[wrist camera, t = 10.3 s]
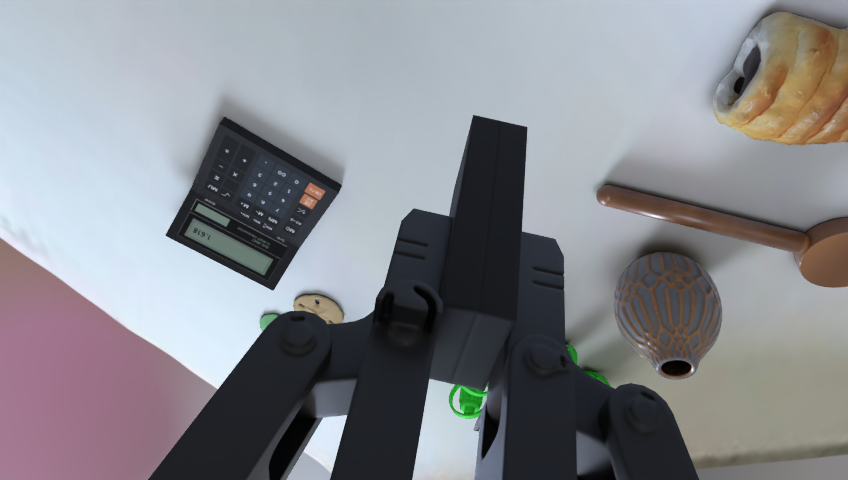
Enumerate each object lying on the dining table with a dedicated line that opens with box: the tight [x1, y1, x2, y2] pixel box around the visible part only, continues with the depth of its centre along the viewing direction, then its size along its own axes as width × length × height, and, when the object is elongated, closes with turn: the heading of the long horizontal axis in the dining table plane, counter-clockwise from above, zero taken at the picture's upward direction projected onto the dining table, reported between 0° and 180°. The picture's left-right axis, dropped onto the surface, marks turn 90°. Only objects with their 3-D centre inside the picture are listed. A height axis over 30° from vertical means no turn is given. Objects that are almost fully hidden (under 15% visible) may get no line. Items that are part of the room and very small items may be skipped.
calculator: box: [165, 117, 342, 290], centre depth 44 cm, size 9×12×3 cm
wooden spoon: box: [596, 185, 848, 287], centre depth 39 cm, size 19×5×1 cm, turn 79°
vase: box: [614, 252, 722, 380], centre depth 40 cm, size 7×7×9 cm
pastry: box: [713, 12, 848, 145], centre depth 30 cm, size 9×7×4 cm
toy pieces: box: [260, 295, 343, 331], centre depth 55 cm, size 12×11×4 cm
